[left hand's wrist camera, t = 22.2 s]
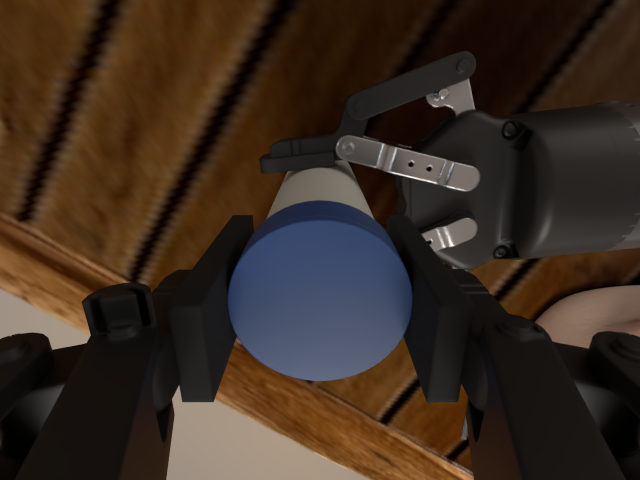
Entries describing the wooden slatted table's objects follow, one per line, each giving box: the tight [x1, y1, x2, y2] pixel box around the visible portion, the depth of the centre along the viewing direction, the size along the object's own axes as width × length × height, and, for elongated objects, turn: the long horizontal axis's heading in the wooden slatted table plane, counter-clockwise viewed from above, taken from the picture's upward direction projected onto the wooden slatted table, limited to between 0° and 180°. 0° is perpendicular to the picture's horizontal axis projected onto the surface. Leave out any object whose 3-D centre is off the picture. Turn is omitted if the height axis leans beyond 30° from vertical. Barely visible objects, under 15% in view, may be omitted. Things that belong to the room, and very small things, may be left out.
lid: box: [227, 200, 413, 381], centre depth 11 cm, size 5×5×2 cm
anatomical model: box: [535, 285, 640, 348], centre depth 28 cm, size 13×4×12 cm
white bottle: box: [266, 160, 374, 219], centre depth 18 cm, size 5×5×16 cm
